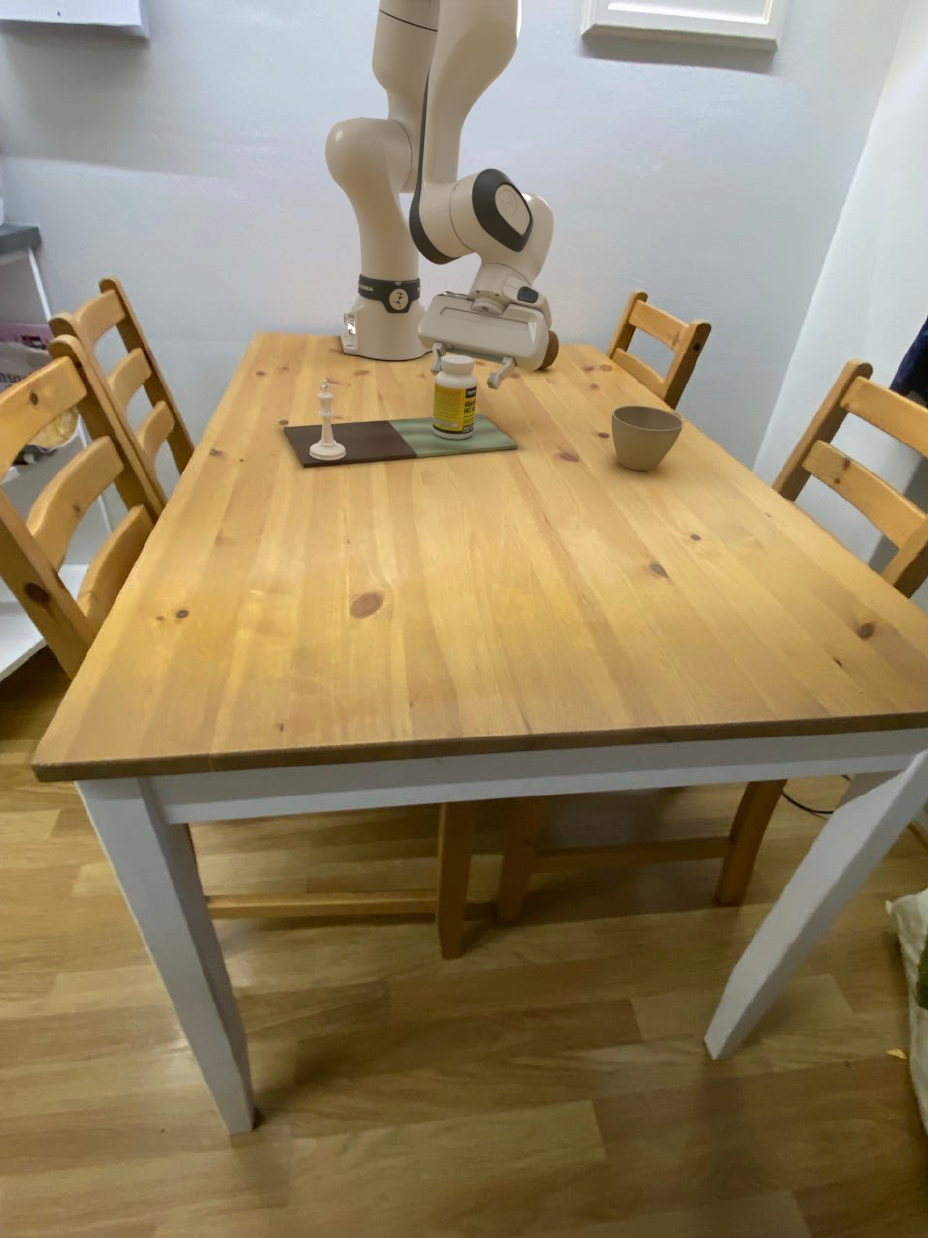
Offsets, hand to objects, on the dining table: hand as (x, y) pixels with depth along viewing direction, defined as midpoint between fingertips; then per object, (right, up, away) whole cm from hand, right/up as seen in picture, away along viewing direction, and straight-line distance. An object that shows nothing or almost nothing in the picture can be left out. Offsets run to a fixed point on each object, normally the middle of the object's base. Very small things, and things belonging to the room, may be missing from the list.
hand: (463, 380), depth 104 cm
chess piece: (-19, -13, -8) cm, 24 cm away
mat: (-9, -9, 0) cm, 13 cm away
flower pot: (+26, -13, -1) cm, 29 cm away
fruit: (+16, +15, +37) cm, 43 cm away
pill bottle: (-2, -8, +2) cm, 8 cm away
